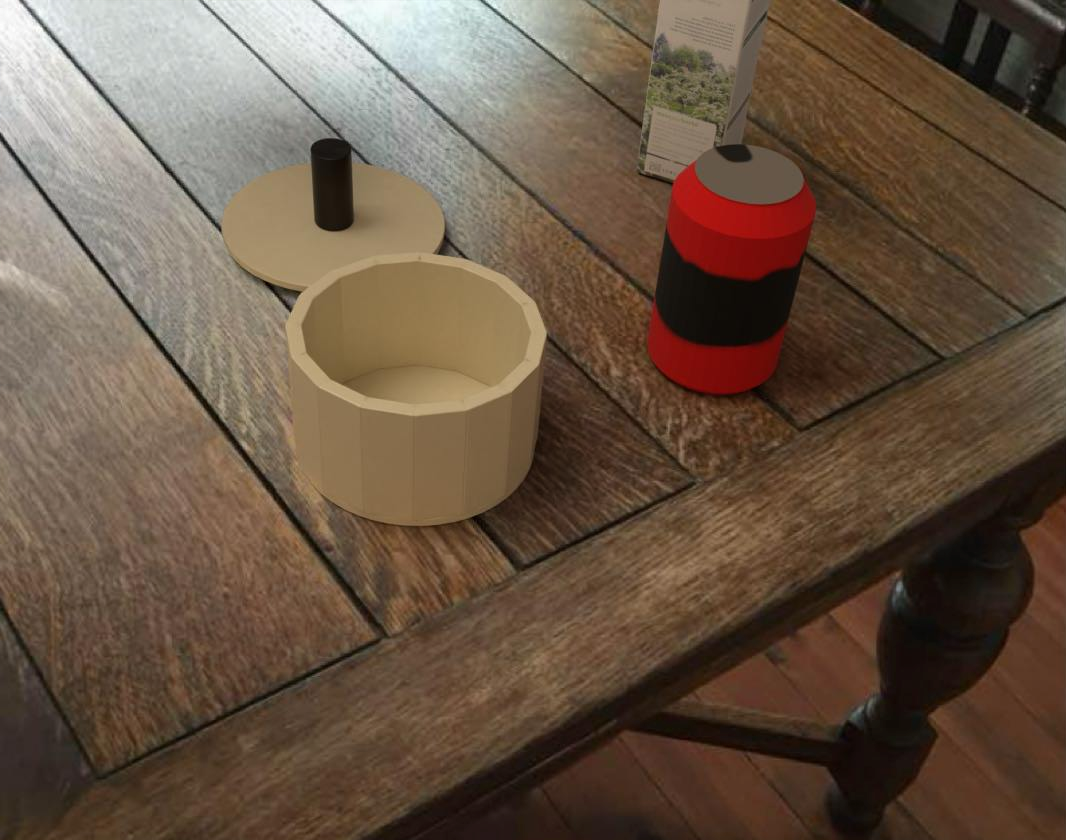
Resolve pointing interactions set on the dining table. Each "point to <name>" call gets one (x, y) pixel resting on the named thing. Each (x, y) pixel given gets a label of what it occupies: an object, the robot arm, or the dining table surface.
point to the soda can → (729, 268)
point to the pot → (415, 387)
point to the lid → (327, 217)
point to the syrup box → (699, 80)
